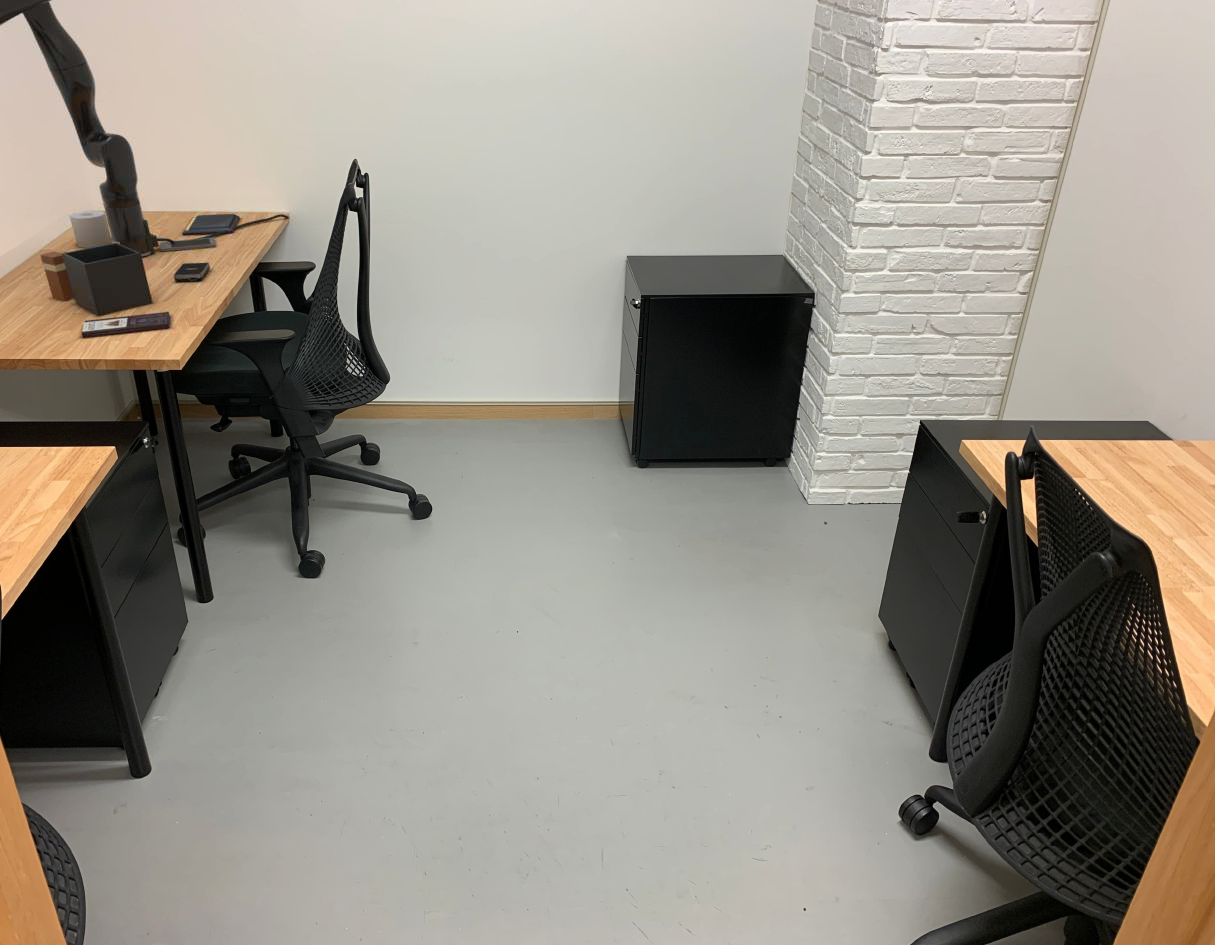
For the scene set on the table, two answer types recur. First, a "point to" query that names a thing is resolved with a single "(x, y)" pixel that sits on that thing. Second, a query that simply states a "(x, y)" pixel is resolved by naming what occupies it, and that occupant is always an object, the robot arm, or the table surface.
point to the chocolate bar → (125, 324)
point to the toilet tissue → (90, 229)
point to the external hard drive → (191, 272)
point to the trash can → (107, 278)
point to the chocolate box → (57, 276)
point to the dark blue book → (211, 224)
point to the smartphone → (187, 244)
